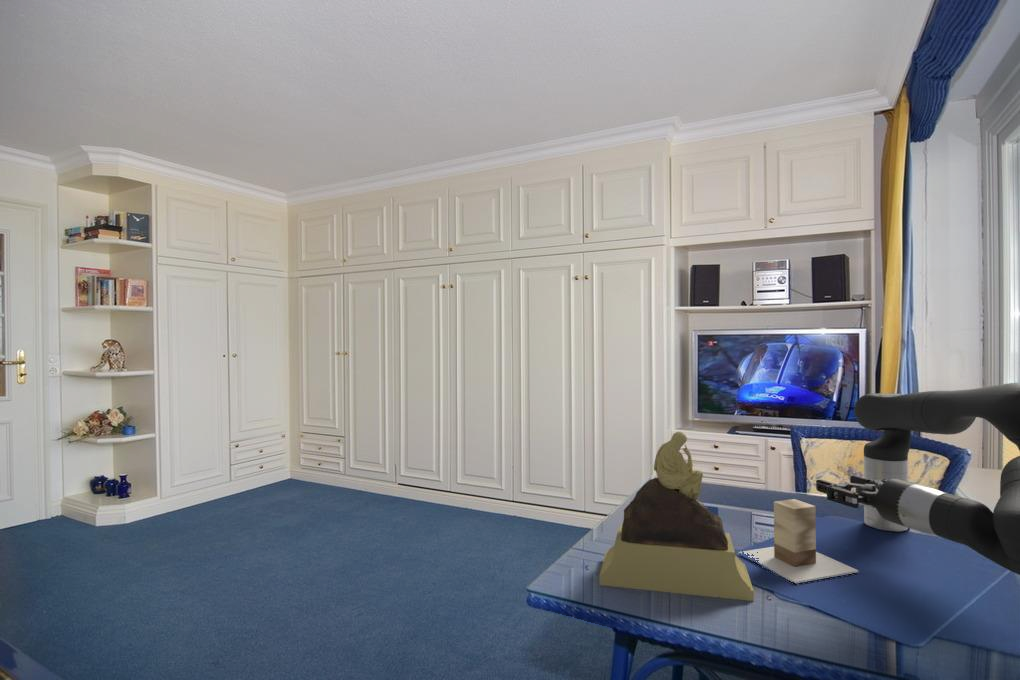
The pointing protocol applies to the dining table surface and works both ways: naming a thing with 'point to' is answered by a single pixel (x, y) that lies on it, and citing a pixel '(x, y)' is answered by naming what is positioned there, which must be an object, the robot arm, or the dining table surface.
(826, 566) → the off-white mat
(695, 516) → the seated figure statue
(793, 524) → the two-tone block
